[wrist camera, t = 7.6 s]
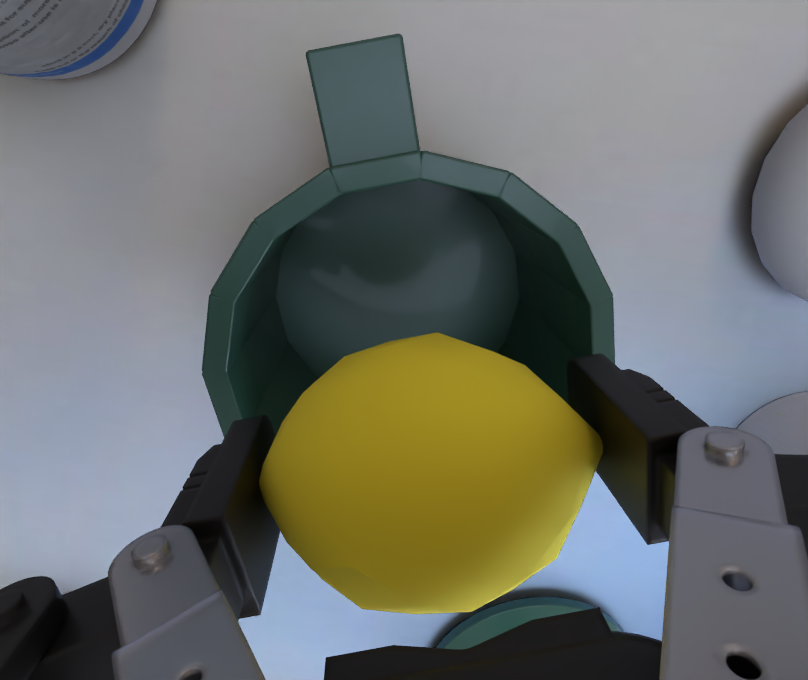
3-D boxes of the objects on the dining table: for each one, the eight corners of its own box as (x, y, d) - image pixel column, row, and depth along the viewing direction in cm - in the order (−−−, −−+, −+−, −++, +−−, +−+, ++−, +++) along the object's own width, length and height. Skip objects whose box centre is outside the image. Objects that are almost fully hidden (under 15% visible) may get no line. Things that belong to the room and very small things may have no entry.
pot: (313, 476, 26) (288, 623, 18) (208, 109, 20) (98, 82, 12) (543, 434, 26) (621, 562, 18) (510, 52, 20) (606, -13, 12)
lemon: (297, 504, 14) (255, 710, 9) (261, 315, 12) (182, 440, 7) (552, 478, 14) (654, 663, 9) (558, 288, 12) (693, 389, 7)
